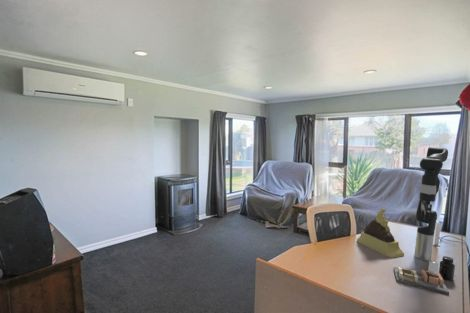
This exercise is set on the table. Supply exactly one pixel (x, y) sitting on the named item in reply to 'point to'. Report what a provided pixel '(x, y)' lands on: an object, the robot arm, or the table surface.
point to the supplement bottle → (447, 268)
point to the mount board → (417, 280)
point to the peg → (432, 269)
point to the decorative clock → (380, 237)
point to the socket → (432, 278)
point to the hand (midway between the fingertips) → (424, 219)
